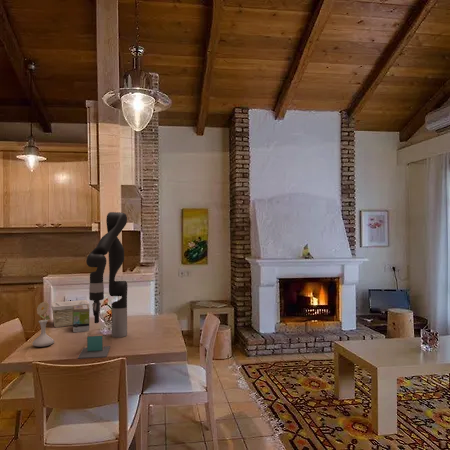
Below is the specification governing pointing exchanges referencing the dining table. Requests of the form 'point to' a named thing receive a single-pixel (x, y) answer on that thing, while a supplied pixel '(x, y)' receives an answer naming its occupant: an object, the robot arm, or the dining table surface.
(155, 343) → the dining table surface
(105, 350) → the mat
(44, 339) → the flower in vase
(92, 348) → the tile
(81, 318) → the tea box
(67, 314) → the storage basket
